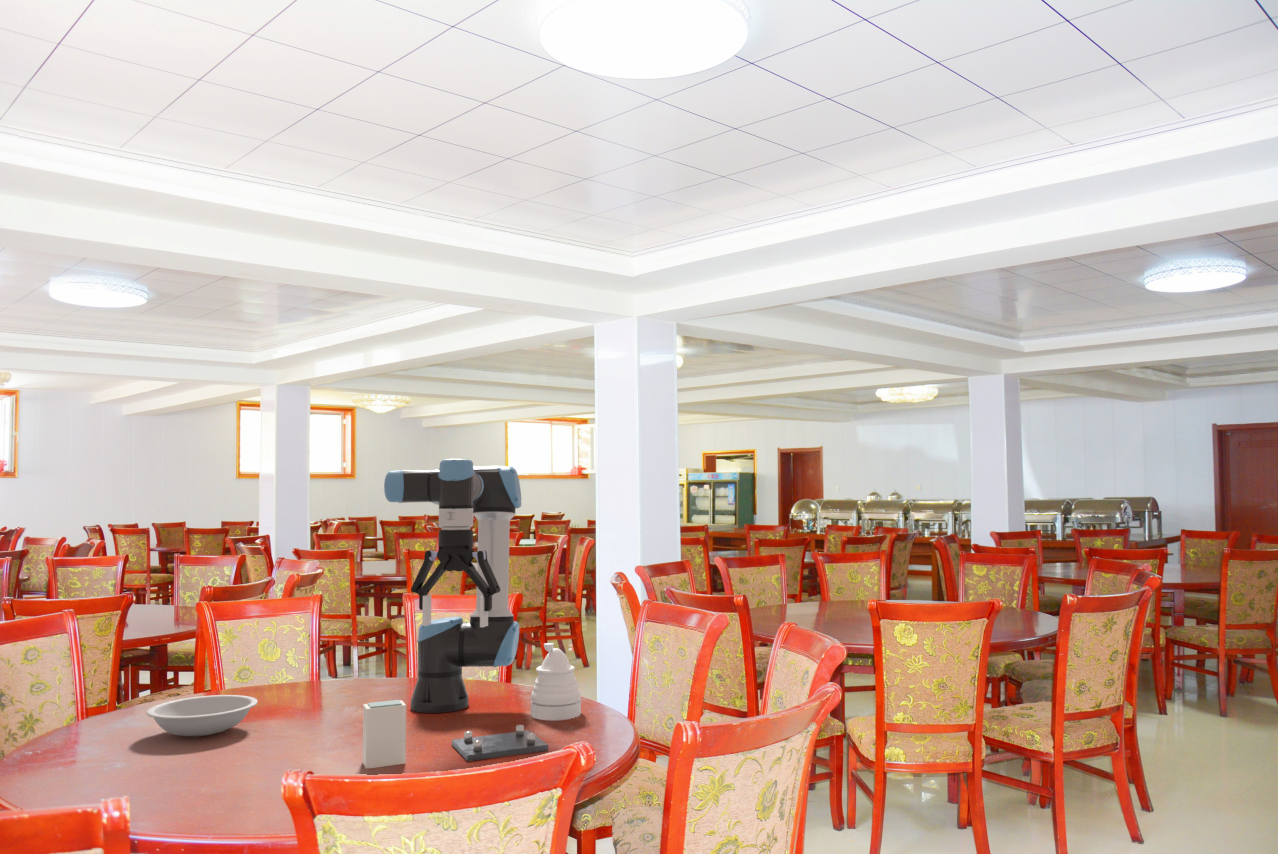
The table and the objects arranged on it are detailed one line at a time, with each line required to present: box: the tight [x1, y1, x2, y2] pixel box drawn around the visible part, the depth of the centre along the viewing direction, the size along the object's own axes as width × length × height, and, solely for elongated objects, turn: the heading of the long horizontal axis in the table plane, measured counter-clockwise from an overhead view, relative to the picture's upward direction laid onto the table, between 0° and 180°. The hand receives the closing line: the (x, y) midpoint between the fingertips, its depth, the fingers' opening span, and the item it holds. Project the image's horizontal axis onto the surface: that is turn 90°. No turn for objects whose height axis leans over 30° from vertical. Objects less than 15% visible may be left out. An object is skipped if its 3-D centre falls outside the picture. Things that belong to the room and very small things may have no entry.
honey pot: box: [530, 642, 582, 721], centre depth 229 cm, size 13×13×18 cm
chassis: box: [451, 724, 549, 762], centre depth 197 cm, size 14×18×3 cm
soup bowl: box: [145, 694, 258, 737], centre depth 213 cm, size 24×24×7 cm
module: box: [362, 699, 407, 770], centre depth 187 cm, size 5×8×12 cm, turn 115°
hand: (455, 625), depth 195 cm, fingers open, 13 cm apart
